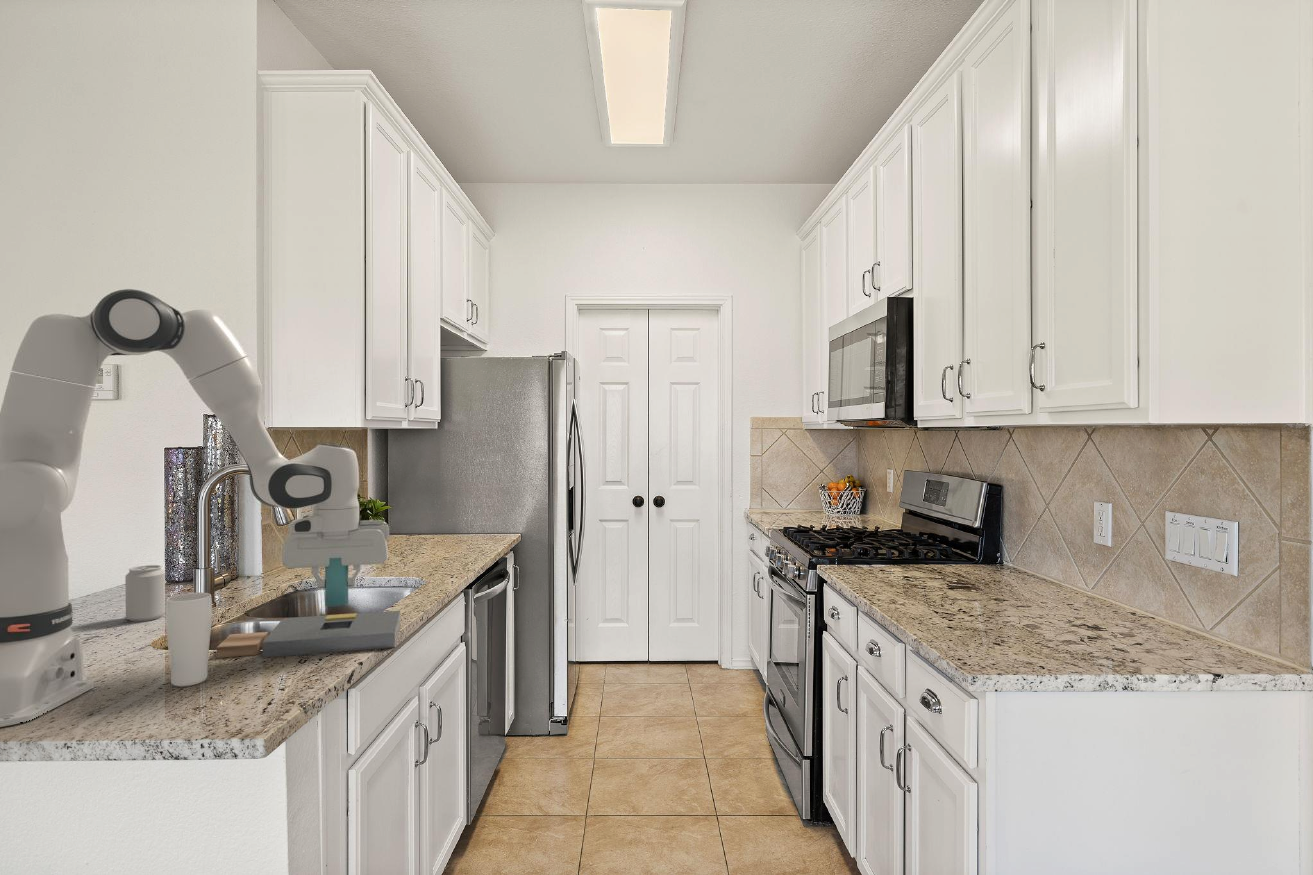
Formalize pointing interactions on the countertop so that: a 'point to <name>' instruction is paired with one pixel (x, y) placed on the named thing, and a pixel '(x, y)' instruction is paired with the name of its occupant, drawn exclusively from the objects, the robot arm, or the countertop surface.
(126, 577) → the can
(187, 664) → the drinking glass
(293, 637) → the grey flat block
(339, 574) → the barrel peg
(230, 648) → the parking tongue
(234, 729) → the countertop surface
